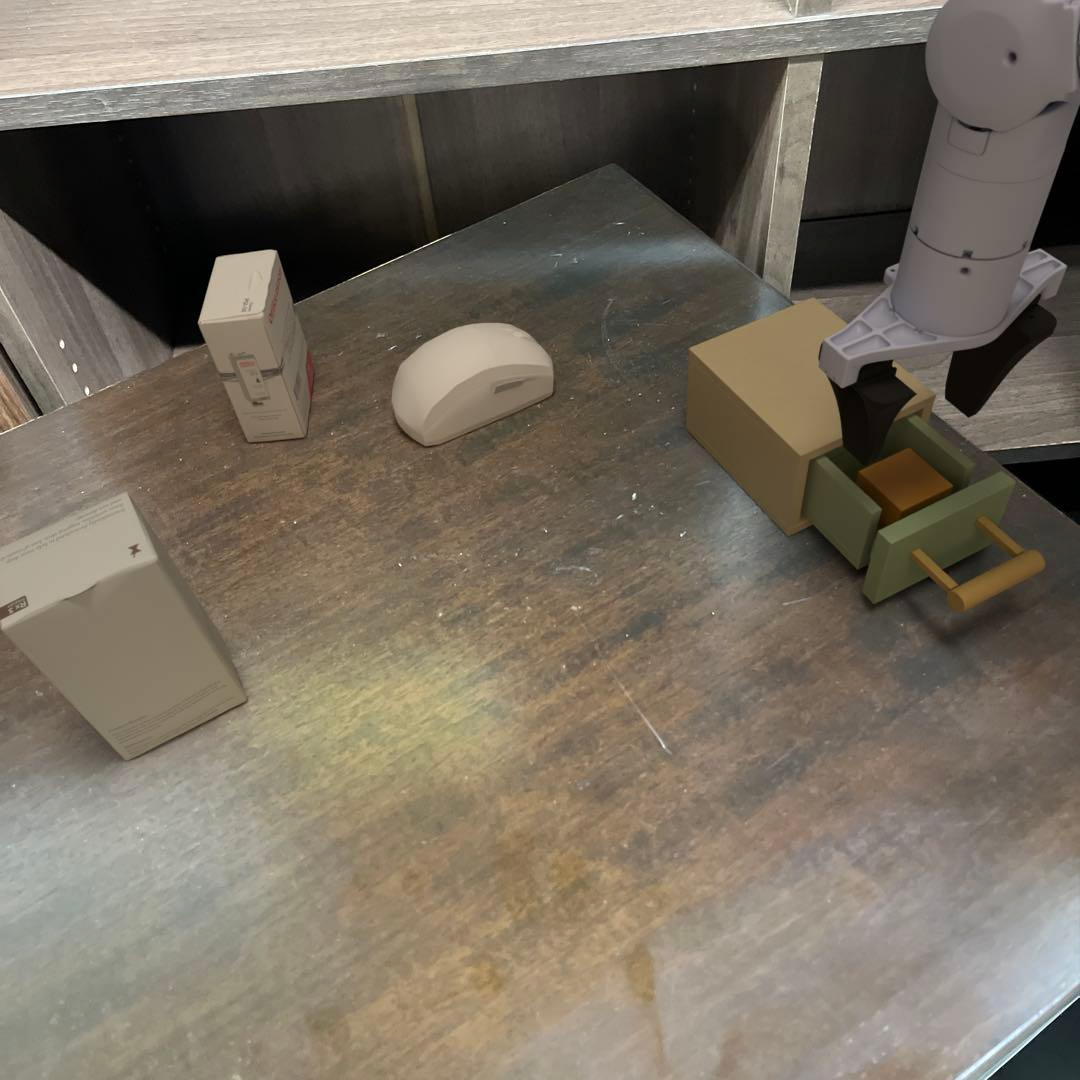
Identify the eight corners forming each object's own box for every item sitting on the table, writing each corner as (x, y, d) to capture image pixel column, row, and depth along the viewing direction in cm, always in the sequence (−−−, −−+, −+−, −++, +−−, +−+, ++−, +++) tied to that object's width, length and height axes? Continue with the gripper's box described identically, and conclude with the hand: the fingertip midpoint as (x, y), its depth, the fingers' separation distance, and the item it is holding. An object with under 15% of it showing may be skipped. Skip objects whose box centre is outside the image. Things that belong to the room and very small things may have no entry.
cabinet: (912, 477, 69) (936, 394, 63) (787, 537, 66) (800, 456, 61) (801, 378, 77) (813, 296, 71) (685, 428, 74) (688, 347, 68)
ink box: (260, 374, 83) (213, 251, 74) (318, 368, 83) (278, 244, 74) (245, 445, 77) (193, 321, 68) (308, 439, 77) (263, 314, 68)
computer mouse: (565, 393, 78) (560, 328, 73) (416, 456, 75) (400, 393, 70) (527, 350, 82) (520, 286, 77) (383, 409, 79) (366, 345, 74)
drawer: (1048, 594, 61) (1078, 532, 56) (926, 659, 58) (949, 599, 54) (873, 440, 70) (887, 376, 66) (763, 490, 68) (771, 428, 64)
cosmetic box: (223, 639, 65) (134, 481, 54) (252, 706, 61) (163, 552, 50) (97, 698, 63) (-23, 546, 51) (119, 772, 59) (-5, 625, 48)
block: (939, 528, 63) (954, 485, 60) (889, 553, 62) (901, 510, 59) (897, 490, 66) (908, 446, 63) (848, 513, 65) (858, 470, 62)
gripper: (1023, 147, 52) (957, 350, 63) (797, 234, 49) (768, 433, 59) (1131, 209, 48) (1042, 415, 58) (894, 309, 44) (843, 509, 55)
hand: (910, 429), depth 58 cm, fingers open, 7 cm apart
